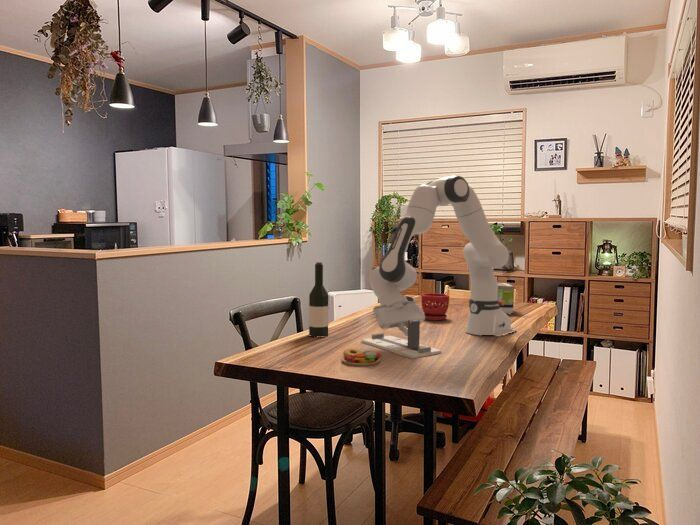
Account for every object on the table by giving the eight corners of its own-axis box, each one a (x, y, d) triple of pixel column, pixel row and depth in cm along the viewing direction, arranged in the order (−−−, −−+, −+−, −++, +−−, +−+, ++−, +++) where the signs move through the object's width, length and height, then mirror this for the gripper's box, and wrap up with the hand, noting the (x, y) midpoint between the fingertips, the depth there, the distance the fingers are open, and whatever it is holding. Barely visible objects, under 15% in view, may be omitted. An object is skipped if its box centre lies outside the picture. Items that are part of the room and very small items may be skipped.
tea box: (513, 314, 283) (514, 285, 282) (494, 314, 284) (494, 285, 282) (506, 309, 298) (506, 282, 297) (487, 309, 299) (487, 282, 297)
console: (389, 337, 226) (389, 331, 226) (441, 353, 201) (441, 346, 201) (361, 341, 218) (361, 335, 218) (411, 358, 193) (411, 350, 193)
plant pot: (450, 321, 263) (451, 296, 262) (422, 321, 263) (423, 295, 262) (446, 316, 276) (447, 292, 275) (419, 316, 276) (420, 292, 275)
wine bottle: (331, 334, 232) (332, 262, 229) (324, 338, 224) (324, 263, 222) (313, 332, 235) (313, 261, 232) (305, 336, 227) (305, 262, 224)
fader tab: (413, 346, 205) (414, 319, 204) (419, 348, 203) (419, 320, 202) (407, 347, 204) (407, 320, 203) (412, 349, 201) (413, 321, 200)
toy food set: (344, 356, 196) (344, 347, 196) (382, 358, 195) (382, 348, 194) (339, 366, 183) (339, 357, 183) (380, 368, 182) (380, 358, 181)
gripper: (375, 301, 204) (391, 332, 197) (417, 297, 215) (434, 326, 208) (367, 311, 208) (383, 342, 201) (409, 307, 220) (426, 336, 212)
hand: (409, 334), depth 205 cm, fingers closed, pressing on fader tab
